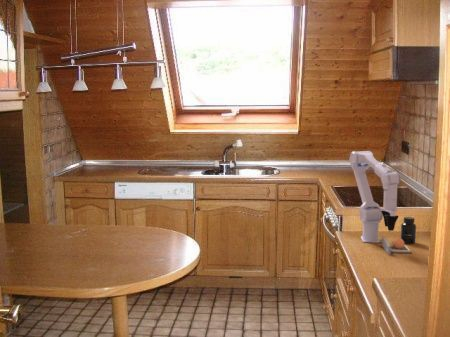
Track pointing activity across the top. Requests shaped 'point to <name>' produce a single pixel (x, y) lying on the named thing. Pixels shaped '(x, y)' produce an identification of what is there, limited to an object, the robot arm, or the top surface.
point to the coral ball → (398, 243)
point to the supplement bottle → (408, 230)
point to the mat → (400, 250)
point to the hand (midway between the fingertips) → (389, 228)
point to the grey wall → (386, 245)
